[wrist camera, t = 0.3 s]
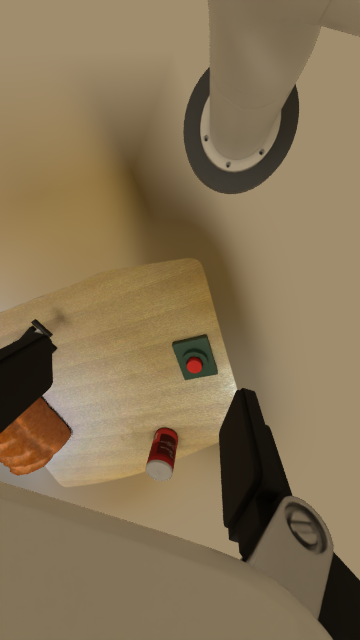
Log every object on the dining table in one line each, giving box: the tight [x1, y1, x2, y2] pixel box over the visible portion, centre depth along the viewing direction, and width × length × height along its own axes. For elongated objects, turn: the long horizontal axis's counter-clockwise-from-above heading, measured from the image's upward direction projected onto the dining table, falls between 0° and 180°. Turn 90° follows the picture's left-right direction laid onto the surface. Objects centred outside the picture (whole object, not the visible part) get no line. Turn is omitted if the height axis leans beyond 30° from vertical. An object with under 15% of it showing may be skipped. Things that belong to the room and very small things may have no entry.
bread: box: [0, 397, 71, 475], centre depth 63 cm, size 14×26×16 cm, turn 30°
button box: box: [172, 335, 218, 380], centre depth 51 cm, size 11×9×4 cm
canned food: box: [146, 428, 178, 481], centre depth 61 cm, size 8×8×11 cm
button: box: [187, 357, 202, 373], centre depth 49 cm, size 4×4×2 cm
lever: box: [31, 319, 53, 338], centre depth 48 cm, size 18×5×2 cm, turn 131°
